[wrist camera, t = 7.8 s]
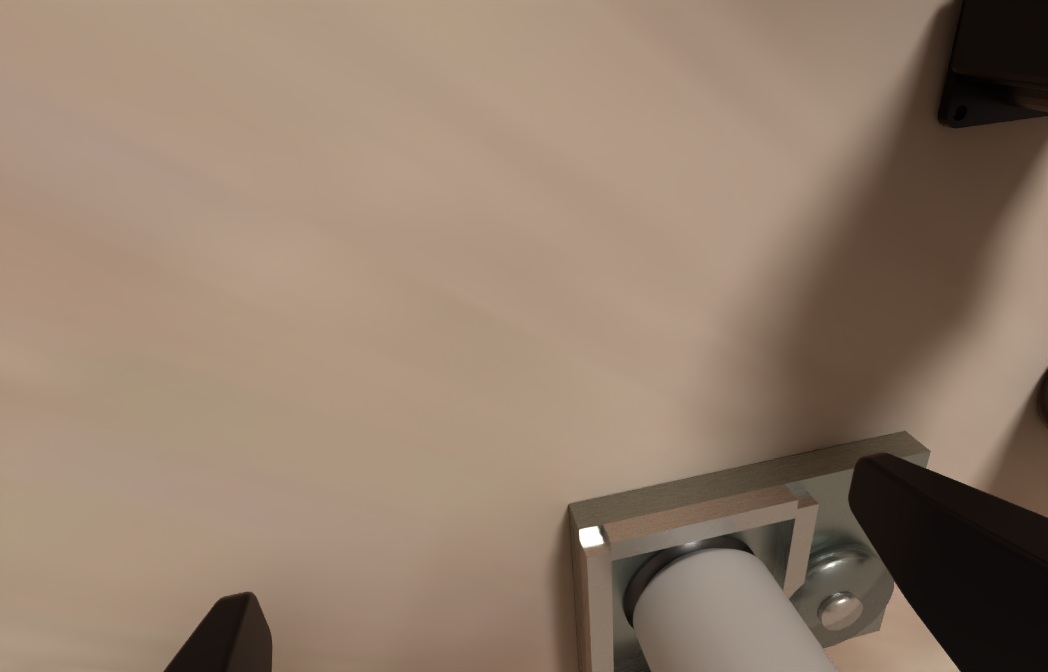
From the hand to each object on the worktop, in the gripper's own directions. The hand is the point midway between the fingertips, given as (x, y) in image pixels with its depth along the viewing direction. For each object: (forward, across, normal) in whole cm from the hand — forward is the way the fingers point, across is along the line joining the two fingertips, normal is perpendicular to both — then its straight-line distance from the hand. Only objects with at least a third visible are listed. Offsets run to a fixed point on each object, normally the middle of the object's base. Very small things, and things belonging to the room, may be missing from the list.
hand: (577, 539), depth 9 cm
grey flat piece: (+13, -11, +18) cm, 25 cm away
